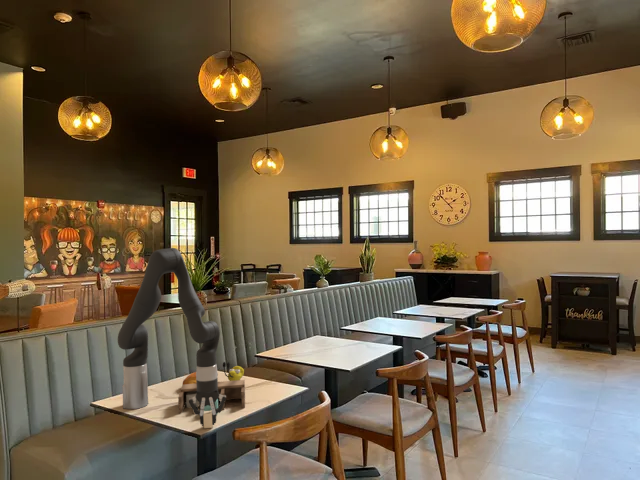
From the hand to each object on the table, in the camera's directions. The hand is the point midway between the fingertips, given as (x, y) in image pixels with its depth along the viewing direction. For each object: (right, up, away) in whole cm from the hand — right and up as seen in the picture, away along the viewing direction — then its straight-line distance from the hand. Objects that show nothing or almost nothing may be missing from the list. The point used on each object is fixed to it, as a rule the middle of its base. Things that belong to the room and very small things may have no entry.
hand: (208, 424), depth 170 cm
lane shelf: (-3, -1, +23) cm, 23 cm away
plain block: (-12, -2, +24) cm, 27 cm away
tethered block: (-1, -1, +7) cm, 8 cm away
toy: (+2, -1, +42) cm, 42 cm away
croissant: (-15, -2, +48) cm, 50 cm away
